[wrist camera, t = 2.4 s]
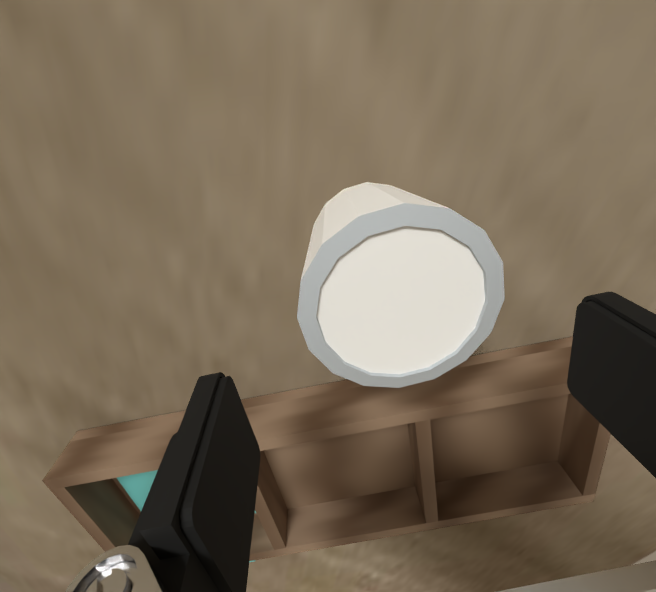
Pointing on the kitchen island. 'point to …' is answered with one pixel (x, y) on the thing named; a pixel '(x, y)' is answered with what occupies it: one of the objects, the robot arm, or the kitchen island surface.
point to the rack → (370, 455)
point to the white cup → (396, 287)
